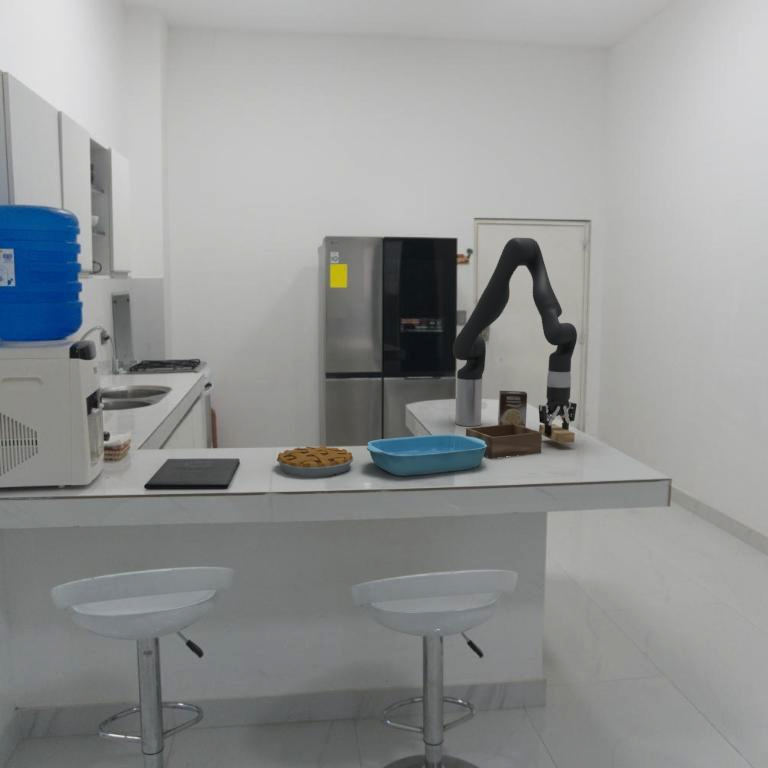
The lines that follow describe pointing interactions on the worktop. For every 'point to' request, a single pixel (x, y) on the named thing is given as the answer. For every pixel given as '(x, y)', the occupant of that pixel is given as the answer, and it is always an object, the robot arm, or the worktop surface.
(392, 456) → the casserole dish
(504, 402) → the coffee box
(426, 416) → the worktop surface
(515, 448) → the wooden box
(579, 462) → the worktop surface
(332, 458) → the pie
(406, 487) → the worktop surface
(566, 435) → the tan flat block
